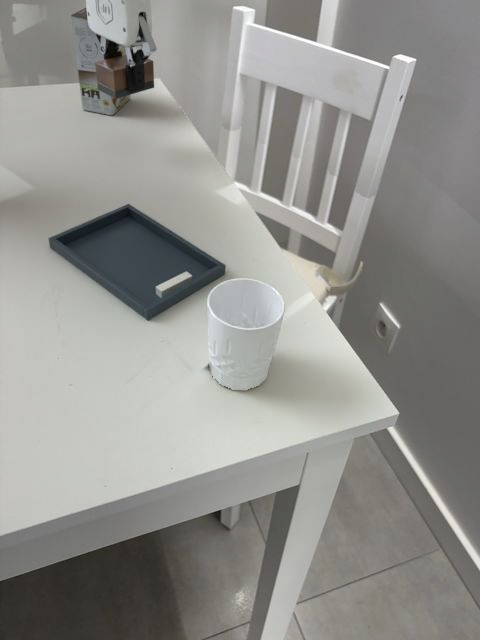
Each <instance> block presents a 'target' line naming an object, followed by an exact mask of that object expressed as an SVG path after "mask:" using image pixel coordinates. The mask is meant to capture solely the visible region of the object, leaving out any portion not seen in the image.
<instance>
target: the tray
mask: <svg viewBox="0 0 480 640" xmlns="http://www.w3.org/2000/svg"><path fill="white" fill-rule="evenodd" d="M48 244H49V248H50V249H51V250H52V251H54V252H55V253H56V254H58V255H59V256H60V257H61V258H62V259H64V260H66V261H67V262H68V263H69V264H71V265H72V266H74V267H75V268H76V269H78V270H79V271H80V272H81V273H83V274H84V275H86V276H87V277H88V278H89V279H91V280H93V281H94V282H95V283H97V284H98V285H99V286H100V287H102V288H103V289H104V290H106V291H107V292H108V293H110V294H111V295H113V296H114V297H115V298H117V299H118V300H119V301H121V302H122V303H123V304H125V305H126V306H127V307H128V308H130V309H131V310H132V311H134V312H135V313H136V314H138V315H139V316H141V317H142V318H143V319H145V320H146V321H150V320H152V319H153V318H155V317H156V316H158V315H160V314H162V313H163V312H165V311H167V310H169V309H170V308H172V307H173V306H175V305H176V304H178V303H180V302H182V301H184V300H185V299H187V298H189V297H190V296H192V295H193V294H195V293H197V292H198V291H200V290H201V289H203V288H205V287H207V286H208V285H210V284H211V283H213V282H214V281H216V280H218V279H220V278H221V277H223V276H225V274H226V264H225V263H223V262H221V261H220V260H219V259H217V258H216V257H213V256H212V255H210V254H209V253H207V252H206V251H204V250H203V249H201V248H199V247H198V246H196V245H194V244H193V243H191V242H190V241H188V240H187V239H185V238H183V236H181V235H179V234H177V233H176V232H174V231H173V230H171V229H169V228H168V227H166V226H165V225H164V224H161V223H160V222H158V221H157V220H155V219H153V218H152V217H150V216H149V215H147V214H146V213H144V212H143V211H141V210H139V209H137V208H136V207H135V206H133V205H131V204H130V203H127V204H124V205H122V206H120V207H118V208H115V209H113V210H111V211H109V212H106V213H104V214H101V215H100V216H97V217H94V218H92V219H90V220H87V221H85V222H82V223H81V224H78V225H76V226H73V227H71V228H69V229H67V230H64V231H62V232H59V233H56V234H55V235H53V236H50V237H48ZM186 271H187V272H188V273H189V274H191V275H192V281H190V282H188V283H186V284H185V285H183V286H181V287H180V288H178V289H176V290H174V291H173V292H171V293H169V294H167V295H166V296H164V297H162V298H161V297H159V296H158V295H157V294H156V286H158V285H160V284H162V283H164V282H166V281H168V280H170V279H172V278H174V277H176V276H178V275H180V274H182V273H184V272H186Z"/></svg>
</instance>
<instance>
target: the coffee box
mask: <svg viewBox="0 0 480 640" xmlns="http://www.w3.org/2000/svg"><path fill="white" fill-rule="evenodd" d="M70 16H71V25H72V33H73V42H74V50H75V51H74V52H75V58H76V59H75V60H76V68H77V75H78V83H79V92H80V93H79V94H80V100H81V109H82V111H88V112H92V113H97V114H102V115H107V116H114V115H115V114H116V113H117V112H118V111H119V110H120V109H121V108H122V107H123V106H125V105H126V104H127V103H128V102H129V101H130V100H131V95H128V96H124V97H121V98H118V99H115V98H113V97H111V96H109V95H107V94H105V93H104V92H102V91H100V90H98V85H97V76H96V67H95V62H97V61H102V60H104V55H105V54H103V53H102V52H101V49H100V45H101V44H100V42H99V40H98V38H97V36H96V33H94V32H93V31H92V30H91V29H90V27H89V25H88V19H87V9H86V7H85V8H82V9H80V10H78V11H76V12H73V13H72V14H71V15H70ZM118 51H121V52H122V55H126V50H125V46H122V45H119V50H118ZM129 99H130V100H129ZM128 100H129V101H128ZM127 101H128V102H127ZM126 102H127V103H126ZM125 103H126V104H125Z"/></svg>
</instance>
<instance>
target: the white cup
mask: <svg viewBox="0 0 480 640" xmlns="http://www.w3.org/2000/svg"><path fill="white" fill-rule="evenodd" d="M206 306H207V308H206V310H207V312H206V313H207V351H208V368H209V367H210V368H209V371H210V375H211V374H212V375H211V377H212V376H213V377H212V378H213V380H215V379H216V380H217V381H218V382H219V383H218V382H217V381H216V380H215V381H216V382H217V383H218V385H220V384H221V385H223V386H222V387H224V386H226V387H228V388H227V389H229V388H231V389H232V391H249V390H251V389H250V388H252V389H255V388H257V387H256V386H258V387H259V386H261V384H262V383H264V382H265V381H266V379H267V378H268V373H269V369H270V365H271V363H272V360H273V358H274V355H275V351H276V349H277V348H276V347H277V344H278V340H279V336H280V331H281V327H282V324H283V319H284V315H285V312H286V302H285V300H284V297H283V295H282V294H281V293H280V292H279V291H278V290H277V289H276V288H274V287H273V286H272V285H270V284H268V283H266V282H265V281H264V282H263V281H261V280H257V279H253V278H247V277H246V278H245V277H244V278H242V277H240V278H231V279H228V280H225V281H222V282H220V283H217V285H215V286H214V287H212V289H211V290H210V291H209V293H208V295H207V299H206ZM221 385H220V386H221ZM226 387H225V388H226ZM254 387H255V388H254ZM231 389H230V390H231ZM248 389H249V390H248Z"/></svg>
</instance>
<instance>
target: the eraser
mask: <svg viewBox="0 0 480 640" xmlns="http://www.w3.org/2000/svg"><path fill="white" fill-rule="evenodd" d="M135 53H136V52H134V54H135ZM126 65H129V64H128V60H127V55H122V56H118V57H114V58H110V59H106V60H102V61H97V62H95V67H96V76H97V85H98V90H100V91H102V92H104V93H105V94H107V95H109V96H111V97H113V98H115V99H118V98H121V97H124V96H128V95H130V96H131V95H134V94H138V93H141V92H144V91H148V90H151V89H154V88H155V72H154V60H152V59H150V58H148V59H147V62H146V63H145V64H144V75H145V88H144V89H142V90H139V91H135V92H132V93H131V92H129V91H128V90H127V78H126Z"/></svg>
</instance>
